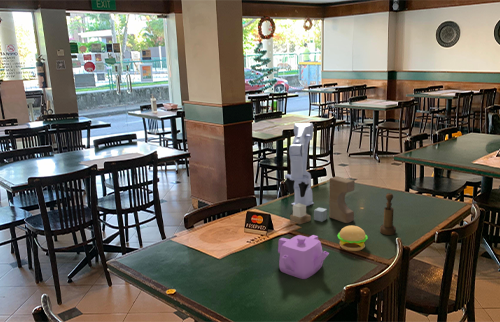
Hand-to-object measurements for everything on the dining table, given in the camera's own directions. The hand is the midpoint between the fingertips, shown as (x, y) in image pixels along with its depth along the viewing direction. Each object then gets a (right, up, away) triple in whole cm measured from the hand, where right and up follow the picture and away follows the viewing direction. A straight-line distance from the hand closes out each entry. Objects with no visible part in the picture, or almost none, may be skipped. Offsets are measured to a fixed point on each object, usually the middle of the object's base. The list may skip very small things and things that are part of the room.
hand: (296, 195), depth 207 cm
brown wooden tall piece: (+38, -15, -22) cm, 46 cm away
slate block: (+11, -11, -5) cm, 16 cm away
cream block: (+1, -9, -6) cm, 11 cm away
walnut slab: (+1, -12, -5) cm, 13 cm away
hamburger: (+19, -19, -35) cm, 44 cm away
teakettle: (-4, -24, -52) cm, 57 cm away
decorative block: (+21, -11, -6) cm, 24 cm away
